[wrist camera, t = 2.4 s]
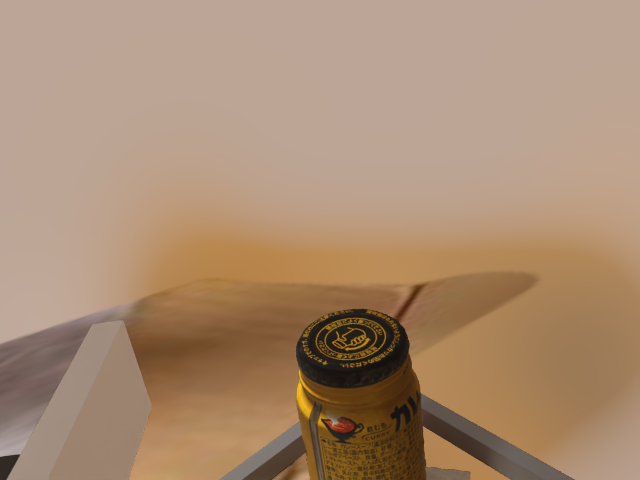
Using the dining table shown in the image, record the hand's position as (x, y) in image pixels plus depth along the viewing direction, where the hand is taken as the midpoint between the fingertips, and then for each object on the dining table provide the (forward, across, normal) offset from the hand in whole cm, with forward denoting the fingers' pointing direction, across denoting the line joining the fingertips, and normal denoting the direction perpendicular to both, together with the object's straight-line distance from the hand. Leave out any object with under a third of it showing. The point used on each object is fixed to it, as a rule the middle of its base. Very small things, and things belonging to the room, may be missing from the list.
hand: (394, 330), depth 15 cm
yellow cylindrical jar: (+10, 0, -20) cm, 22 cm away
